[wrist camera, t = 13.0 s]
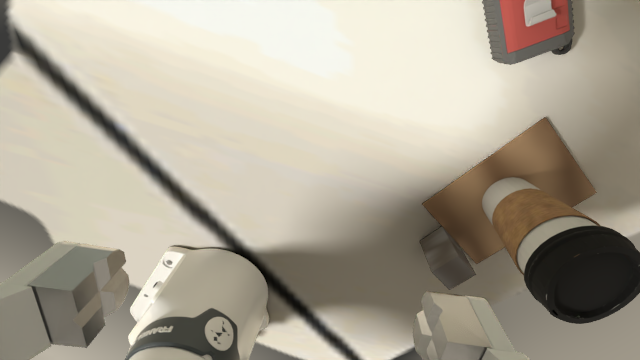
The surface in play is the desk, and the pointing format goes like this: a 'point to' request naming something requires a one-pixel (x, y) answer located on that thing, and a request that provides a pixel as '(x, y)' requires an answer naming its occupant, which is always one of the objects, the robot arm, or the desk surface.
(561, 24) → the walkie-talkie
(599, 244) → the coffee cup
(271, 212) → the desk surface
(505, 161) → the walnut strip
